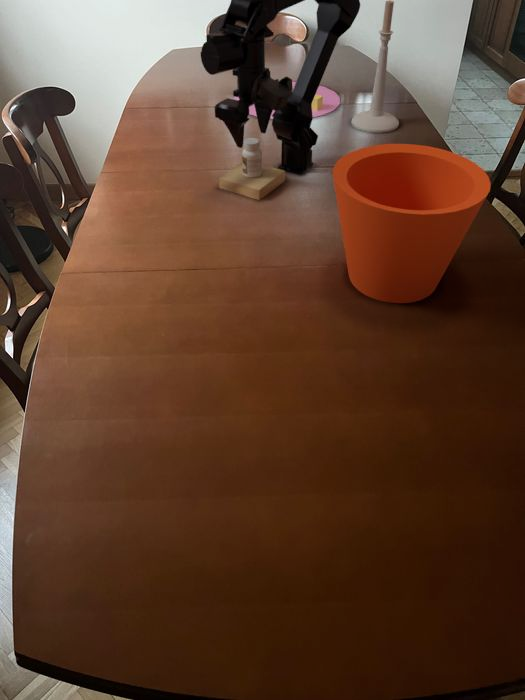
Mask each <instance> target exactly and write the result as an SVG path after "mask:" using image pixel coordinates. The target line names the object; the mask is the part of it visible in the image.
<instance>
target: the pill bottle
mask: <svg viewBox="0 0 525 700" xmlns="http://www.w3.org/2000/svg"><path fill="white" fill-rule="evenodd" d="M260 146H261V143H260V139H259V138H256V137H248V138H244V140H243V149H242V152H241V159H242V161H241V163H242V164H243V175H244V176H246V177H249V178H255V177H259V176H260V175H261V174H262V165H263V156H262V155H263V152H262V150H261V149H260Z"/></svg>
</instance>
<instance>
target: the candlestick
mask: <svg viewBox="0 0 525 700" xmlns="http://www.w3.org/2000/svg"><path fill="white" fill-rule="evenodd" d="M394 5H395V1H394V0H385V3H384V12H383V21H382V29H381V30H379V31H378V33H379V35H380V37H379V40H380V43H381V45H380V47H379V53H378V58H377V59H378V60H377V65H376V72H375V76H374V77H375V78H374V82H373V83H374V84H373V90H372V95H371V102H370V106H369V107H370V108H369V110H366V111H365V110H364V111H361V112H359V113H357V114H355V115H354V116H353V117H352V119H351V126H353V127H354V128H355V129H358V130H359V131H362V132H366V133H371V134H372V133H373V134H383V133H389V132H392V131H395V130H397V129H398V128H399V125H400V121H399V119H398V118H397V117H396V116H395V115H393V114H391V113H389V112H387V111H384V107H385V106H384V104H385V93H386V79H387V66H388V54H389V42H390V41H391V39H392V38H391V36H392V34H394V31H393V30H391V28H392V20H393V13H394Z"/></svg>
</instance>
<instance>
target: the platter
mask: <svg viewBox="0 0 525 700" xmlns="http://www.w3.org/2000/svg"><path fill="white" fill-rule="evenodd" d="M296 82H297V81H292V87H293V88H292V89H294V87H295V84H296ZM292 92H293V90H292ZM233 100H240V99H239V97H235V96H233ZM340 105H341V97H340V96H339V95H338V94H337V92H336V91H334V90H332V89H329V88H328V87H325V86H323V85H319V87H318V89H317V92H316V94H315V96H314V99H313V101H312V117H313V118H317V117H321V116H325V115H327V114H330V113H332V112H334V111H336V109H338V107H340ZM274 112H275V110H273V111H272V114H271V117H270V120H273V118H274V117H272V115H273V114H274ZM249 115H250V116H253V117H256V118H257V115H256V110H255V105H254V104H253V105H252V106H250V107H249Z"/></svg>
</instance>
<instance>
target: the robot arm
mask: <svg viewBox="0 0 525 700" xmlns="http://www.w3.org/2000/svg"><path fill="white" fill-rule="evenodd" d="M305 1H306V0H230V4H229V6H228V8H227V10H226V13H225V15H224V17H223V19H222V22H221V24H220V26H219V32H217V33H208V34H207V33H206V35H205V37H206V41H205V42H204V43H203V45H202V47H201V51H200V60H201V64H202V66H203V68H204V70H205V71H206V72H207V73H208V74H209V75H211V76H215V75H218V74H222V73H225V72H230V71H232V76H233V77H236V83H237V84H236V89H235V90H233V91H232V92H233V93H232V96H233V97H239V99H240V100H234V98H233V99H232V98H228V97H227V98H225V99H223V100H221V101H219V102H218V103H216V104H215V106H214V117H215V119H219V121H221V122H223V124H224V125H225V127H226V128H227V130H228V132H229V134H230V135H231V137H232V139H233V141H234V144H235V145H236V147H237V148H239V149H242V148H244V140H245V137H244V136H245V125H246V124H247V123H248V122H249V121H250V119H251V118H250V117H249V115H250V114H249V107H250V106H252V105H253V104H254V105H255V110H256V115H257V117H256V119H257V123H258V124H257V125H258V128H259V131H260V133H261V134H266V133H267V130H268V127H269V123H270V120H271V119H270V117H271V114H272V111H273V110H275V112H274V114H273V115H272V117H274V118H273V119H272V121H271V126H272V129H273V132H274V133H275V136H276V139H277V140H278V141H281V152H280V153H281V159H280V160H281V161H280V162H281V163H280V164H279V165H277V169H280V170H284V171H285V172H288V173H293V174H296V175H302V174H304V173H305V172H307V170H309V169H310V168H312V167H313V166H314V163H313V149H312V148H313V147H314V146H316V145H317V142H318V138H319V135H318V134H317V133H316V132H315V131H314V129H312V128H311V125H312V122H313V117H312V101H313V99H314V96H315V94H316V92H317V89H318V87H319V86H320V84H321V81H322V79H323V76H324V75H325V72H326V70H327V67H328V64H329V62H330V60H331V58H332V55H333V52H334V50H335V48H336V46H337V43H338V40H339V39H340V37H341V36H343V35H344V34H345V33H346V32H347V31H348V30H349V29H351V27H352V25H353V23H354V22H355V19H356V18H357V16H358V14H359V11H360V9H361V1H360V0H314V2H315V3H316V4H317V5H318V6H317V10H316V13H315V14H316V26H317V28H316V31H315V34H314V36H313V39H312V41H311V44H310V45H309V46H310V47H309V48H308V51H307V54H306V57H305V59H304V62H303V64H302V66H301V69H300V72H299V74H298V77H297V79H296V81H295V82H296V84H295V87H294V89H292V88H293V87H292V82H293V78H291V77H289V76H287V75H286V76H285V77H283V78H281V79H279V78H276V79H274V78H272V77H271V70H270V68H269V67H266V39H267V38H271V37H274V35H275V34H274V31H272V30H271V28H270V27H268V25H270V24H271V23H272V22H273V21H274V20H276V18H277V15H278V14H279V13H280V12H282V11H284V10H286V9H288V8H291V7H293V6H296V5H297V4H300V3H302V2H305ZM243 26H244V27H243ZM292 90H293V92H292Z"/></svg>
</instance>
